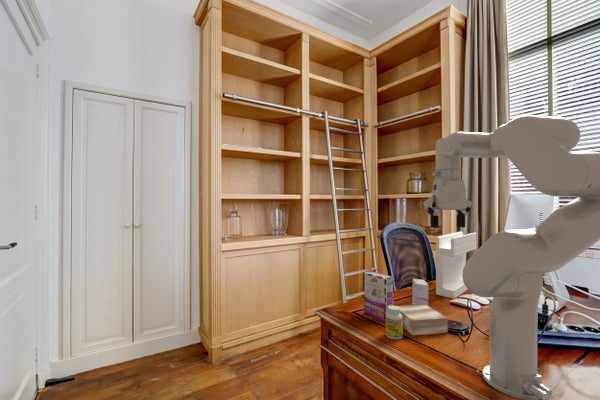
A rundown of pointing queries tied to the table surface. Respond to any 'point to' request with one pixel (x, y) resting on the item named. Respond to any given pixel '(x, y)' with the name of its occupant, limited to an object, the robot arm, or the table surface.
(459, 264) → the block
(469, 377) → the table surface
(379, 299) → the candy bar box
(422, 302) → the ink box
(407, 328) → the base block
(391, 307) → the supplement bottle
